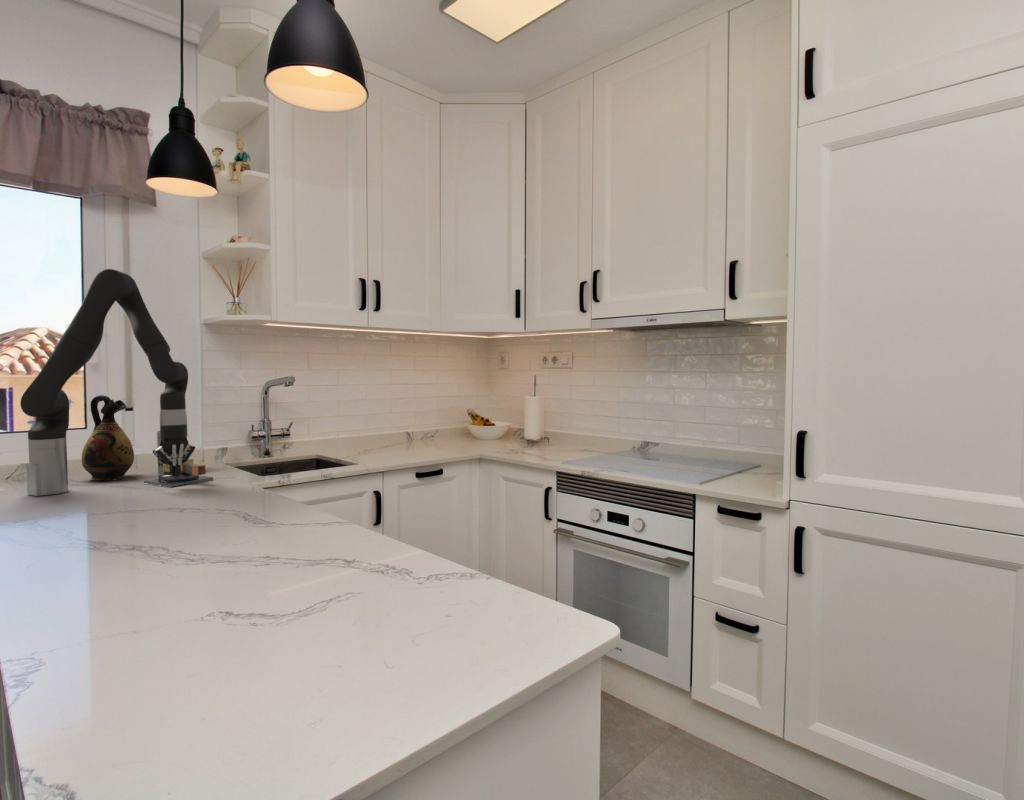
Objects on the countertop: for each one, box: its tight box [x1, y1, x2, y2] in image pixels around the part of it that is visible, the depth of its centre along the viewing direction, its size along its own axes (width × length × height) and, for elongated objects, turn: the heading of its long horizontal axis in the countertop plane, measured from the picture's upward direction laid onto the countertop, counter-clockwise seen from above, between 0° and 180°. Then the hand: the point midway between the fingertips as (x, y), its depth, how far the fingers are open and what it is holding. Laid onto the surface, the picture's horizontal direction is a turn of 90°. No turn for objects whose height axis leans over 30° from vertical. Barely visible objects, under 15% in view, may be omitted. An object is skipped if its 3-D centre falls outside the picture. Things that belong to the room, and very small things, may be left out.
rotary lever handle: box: [163, 458, 207, 476], centre depth 192 cm, size 18×9×4 cm, turn 61°
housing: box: [143, 473, 214, 488], centre depth 194 cm, size 15×15×7 cm
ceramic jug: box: [81, 394, 135, 482], centre depth 201 cm, size 17×15×30 cm
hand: (175, 476), depth 182 cm, fingers closed
